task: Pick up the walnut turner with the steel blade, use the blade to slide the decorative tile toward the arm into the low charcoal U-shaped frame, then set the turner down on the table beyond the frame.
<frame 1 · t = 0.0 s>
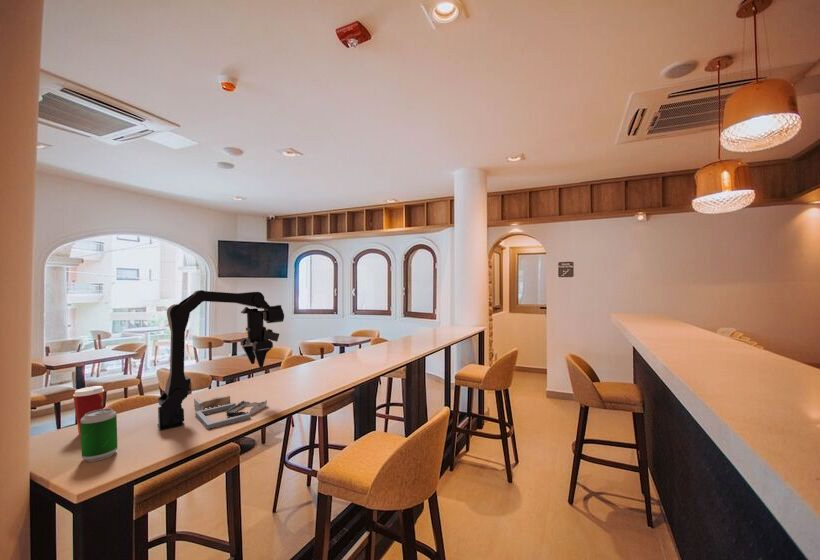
hand: (257, 365, 141), 15 cm above the table, tool pointing down, fingers open, 9 cm apart
tile frame: (224, 416, 128), on the table
soda can: (100, 457, 100), on the table
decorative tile: (245, 413, 132), on the table
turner: (209, 407, 139), on the table
paper cup: (90, 433, 119), on the table
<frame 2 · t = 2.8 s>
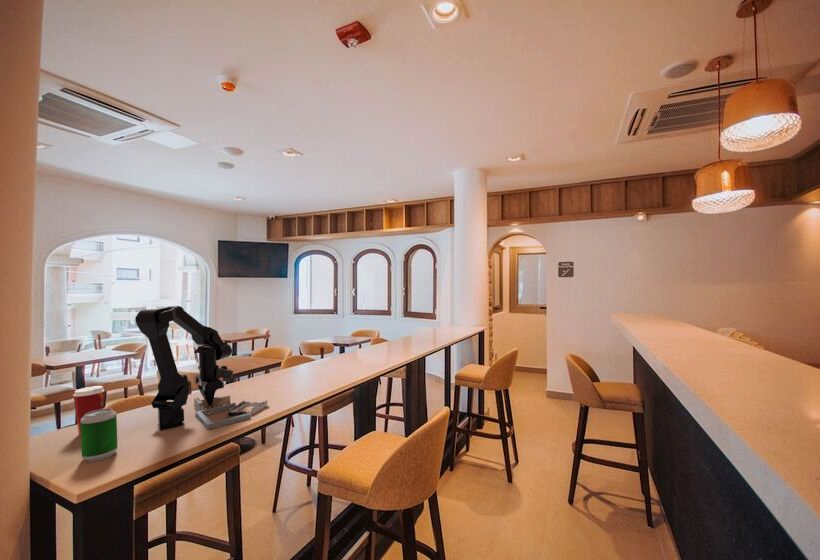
hand: (209, 404, 139), 1 cm above the table, tool pointing down, fingers closed on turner, 2 cm apart
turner: (209, 407, 139), on the table, touching gripper
everything else where it was.
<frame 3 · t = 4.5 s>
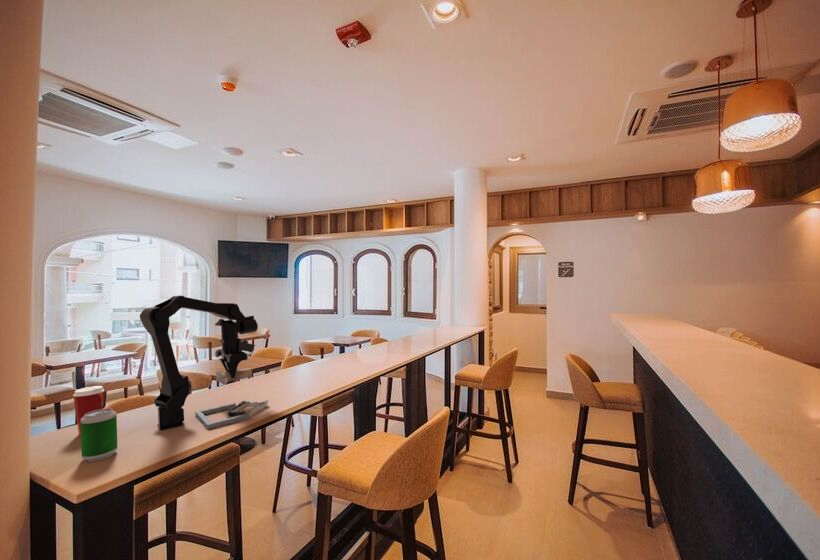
hand: (231, 377, 141), 11 cm above the table, tool pointing down, fingers closed on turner, 2 cm apart
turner: (232, 380, 141), point 10 cm above the table, touching gripper
everything else where it was.
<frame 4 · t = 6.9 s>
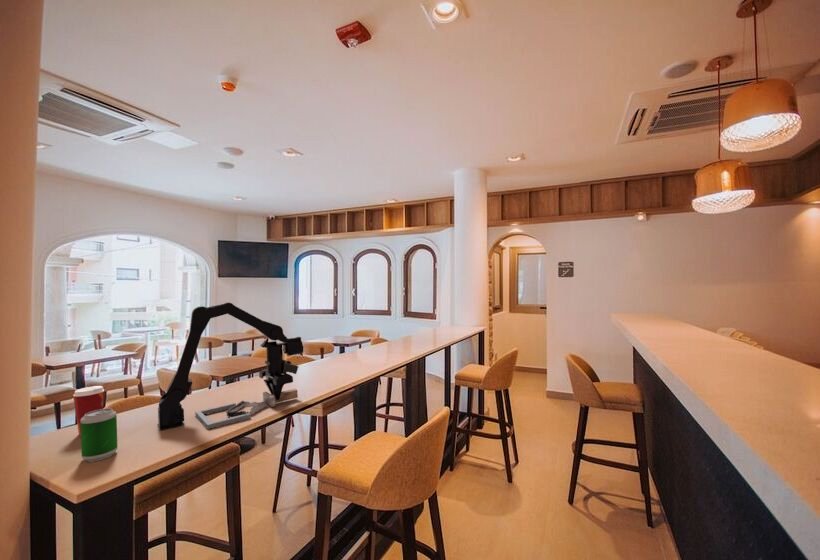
hand: (276, 398, 140), 2 cm above the table, tool pointing down, fingers closed on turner, 2 cm apart
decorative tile: (245, 413, 132), on the table, touching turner
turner: (278, 401, 141), point 1 cm above the table, touching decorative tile, gripper
everything else where it was.
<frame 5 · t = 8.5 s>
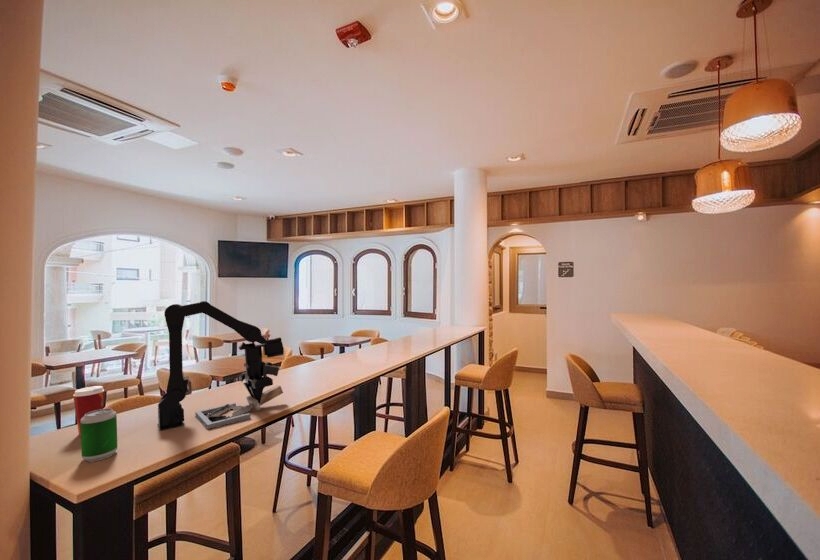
hand: (257, 402, 135), 2 cm above the table, tool pointing down, fingers closed on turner, 2 cm apart
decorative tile: (228, 417, 129), on the table, touching tile frame, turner
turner: (264, 401, 137), point 2 cm above the table, tilted 18°, touching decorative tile, gripper
everything else where it was.
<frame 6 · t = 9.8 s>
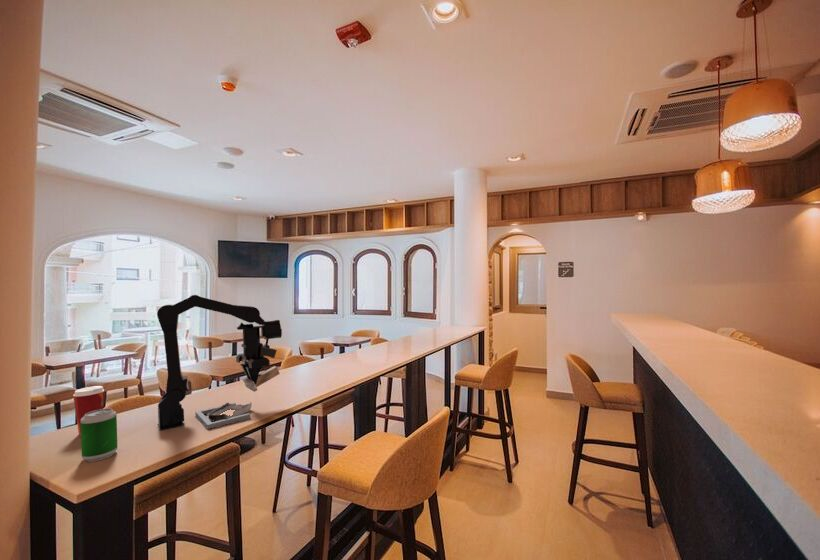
hand: (253, 383, 135), 9 cm above the table, tool pointing down, fingers closed on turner, 2 cm apart
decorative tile: (228, 416, 129), on the table, touching tile frame
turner: (261, 383, 137), point 9 cm above the table, tilted 20°, touching gripper
everything else where it was.
when the fingers open (2 cm above the table, at t = 12.7 s): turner drops 2 cm, on the table.
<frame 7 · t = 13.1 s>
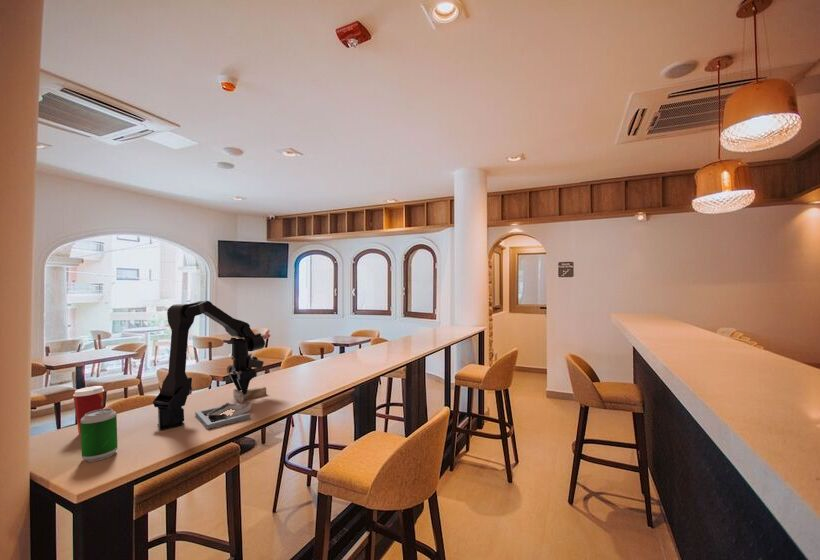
hand: (242, 392, 148), 3 cm above the table, tool pointing down, fingers open, 6 cm apart
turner: (247, 398, 149), on the table, touching gripper
everything else where it was.
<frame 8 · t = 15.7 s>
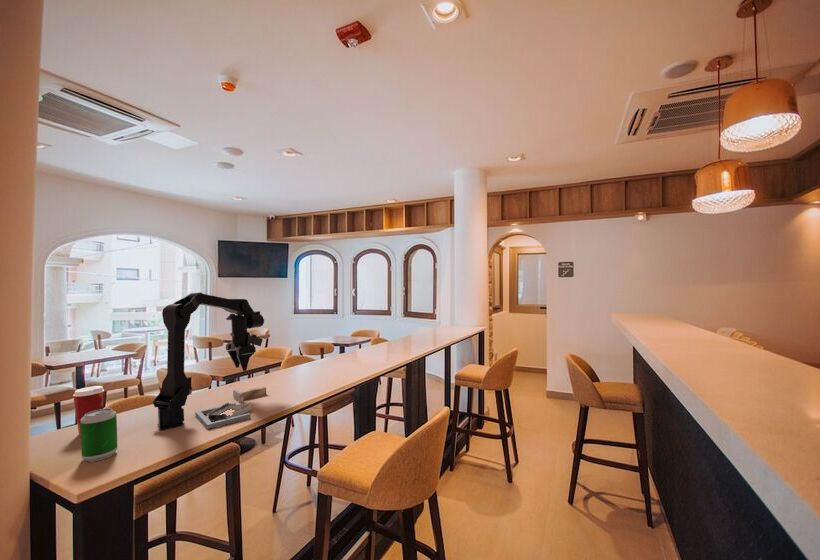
hand: (241, 369, 148), 12 cm above the table, tool pointing down, fingers open, 9 cm apart
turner: (247, 398, 149), on the table
everything else where it was.
at the end: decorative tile 0.8 cm from the target spot, on the table; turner 2.2 cm from the target spot, on the table; the gripper is holding nothing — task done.
